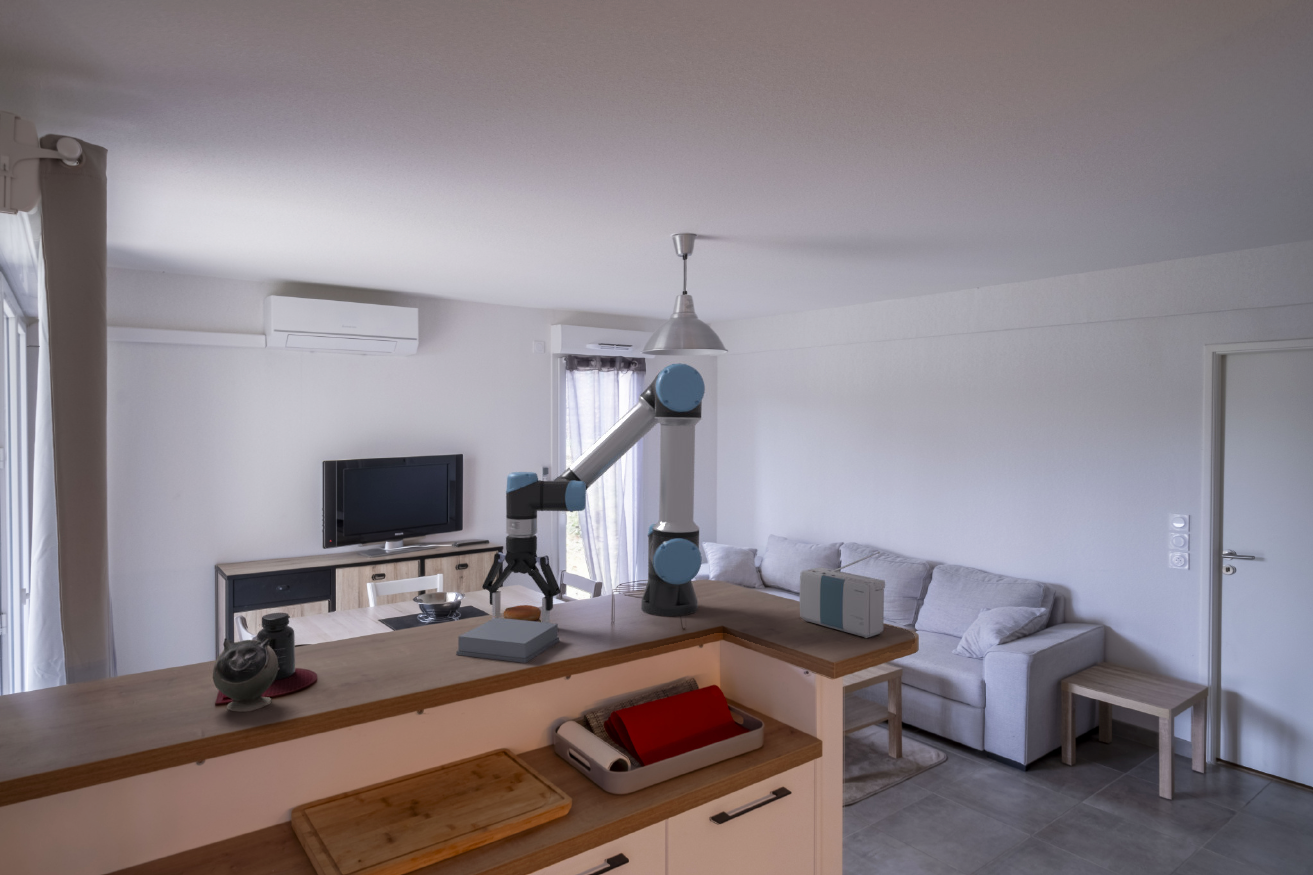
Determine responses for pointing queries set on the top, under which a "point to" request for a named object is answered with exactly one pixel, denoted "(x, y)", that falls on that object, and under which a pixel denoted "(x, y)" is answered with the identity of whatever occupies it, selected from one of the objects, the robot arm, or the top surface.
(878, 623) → the stereo radio cassette player
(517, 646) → the stacking base
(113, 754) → the top surface
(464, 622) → the top surface
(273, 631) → the supplement bottle
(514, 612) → the burger
